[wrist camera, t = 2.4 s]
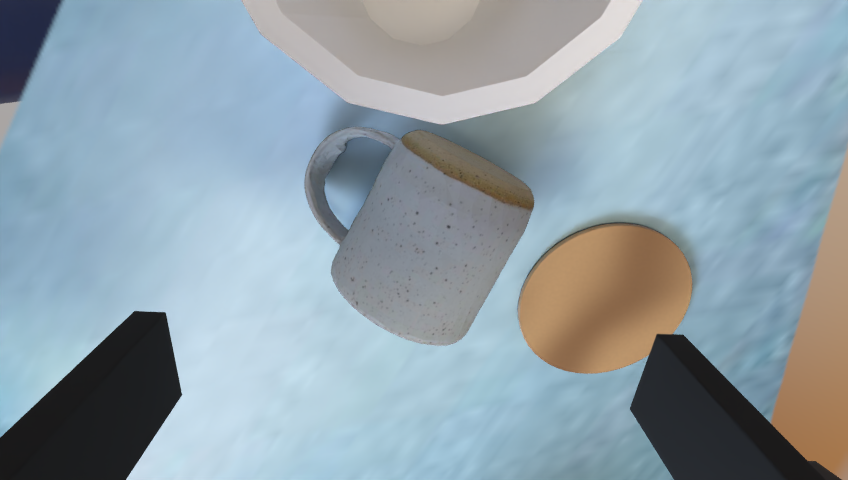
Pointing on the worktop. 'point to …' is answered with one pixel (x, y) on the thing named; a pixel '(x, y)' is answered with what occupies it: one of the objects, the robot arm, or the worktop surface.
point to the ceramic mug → (422, 233)
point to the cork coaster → (604, 297)
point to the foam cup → (442, 49)
